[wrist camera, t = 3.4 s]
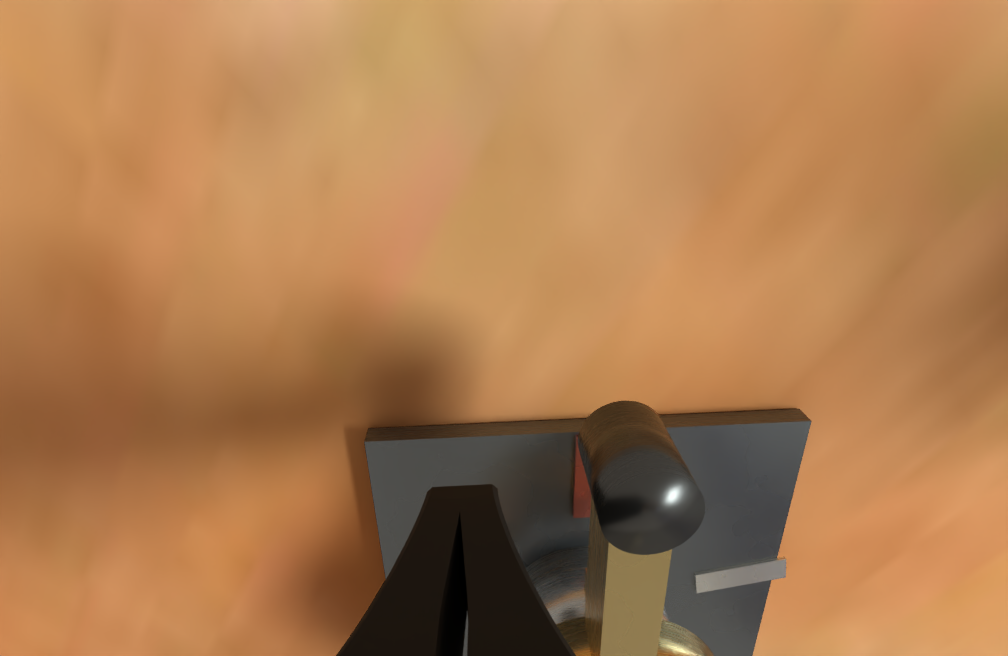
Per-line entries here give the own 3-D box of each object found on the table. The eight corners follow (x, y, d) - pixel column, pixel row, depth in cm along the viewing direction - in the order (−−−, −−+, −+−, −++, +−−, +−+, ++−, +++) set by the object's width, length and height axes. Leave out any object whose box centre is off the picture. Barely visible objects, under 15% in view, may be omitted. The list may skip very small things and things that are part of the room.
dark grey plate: (739, 699, 21) (782, 800, 18) (411, 720, 20) (401, 827, 17) (812, 408, 15) (891, 485, 12) (368, 428, 15) (342, 512, 12)
